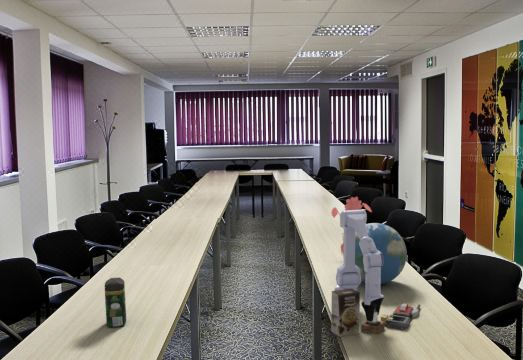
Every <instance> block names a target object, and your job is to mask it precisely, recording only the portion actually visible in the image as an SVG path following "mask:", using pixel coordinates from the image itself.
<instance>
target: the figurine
mask: <svg viewBox="0 0 523 360" xmlns="http://www.w3.org/2000/svg"><path fill="white" fill-rule="evenodd" d="M345 202H346V204H345V205H344V210H345V211H346V210H361V209H362V207H364V209H365V210H366V211H369V212H370V213H372V212H373V210H372V209H371V208H370V206H369V205H368V204H367V203H364V202H362V200H359V197H358V196H355V197H353V196H352V197H350V198H348V199H346V201H345ZM340 214H341V212H339V210H338V208H337V207H335V206H334V207H333V208H332V209H331V216H332V217H333V218H336V217H337V215H339V216H340ZM342 235H344V232H342ZM340 252H341V253H342V254H343V255H344V237H342V243H341V244H340Z"/></svg>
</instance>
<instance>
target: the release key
mask: <svg viewBox="0 0 523 360" xmlns="http://www.w3.org/2000/svg"><path fill="white" fill-rule="evenodd" d="M387 318H388V319H391V320H393V318H391V317H389V314H387V313H386V314H384V313H383V314H382V315H381V316H380V321H383V322H384V325H386V319H387Z"/></svg>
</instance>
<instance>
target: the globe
mask: <svg viewBox="0 0 523 360" xmlns="http://www.w3.org/2000/svg"><path fill="white" fill-rule="evenodd" d="M365 226H366V229H367V232H368V236H369V237H371V238H372V239H373V241H374V244H375V246H376V249H377V250H379V251H380V252H381V253H382V255H383V266H382V267H381V285H384V284H386V283H390V282H391V281H393V280H395V279H397V277H399V275H400V274H401V273H402V272H403V270H404V268H405V266H406V262H407V257H408V255H407V253H408V252H407V246H406V244H405V240H404V239H403V237H402V236H401V234H399V232H398V231H397V230H396V229H394V227H391V226H390V225H387V224H384V223H379V222H372V223H366V225H365ZM359 241H360V239H359V237H358V235H357V233H356V231H355V265H356V266H357V267H358V268H359V269H360V274H361V282H362V283H365V271H364V264H363V253H362V251H361V248H360V246H359Z"/></svg>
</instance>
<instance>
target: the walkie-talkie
mask: <svg viewBox="0 0 523 360" xmlns="http://www.w3.org/2000/svg"><path fill="white" fill-rule="evenodd" d="M420 307H421V304H418V305H417V306H416V308H414V307H413V306H411V305H410V306H409V304H408V303H401V304H399V305H397V307H396V308H395V310H394V311H393V313H392V315H397V316H403V317H409V321H410V319H413V318H416V317H418V315H419V314H420V313H419V312H420Z"/></svg>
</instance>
